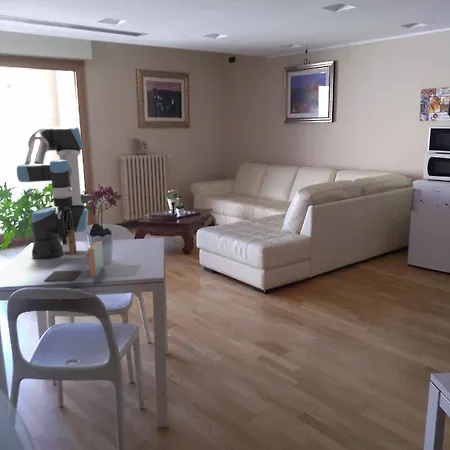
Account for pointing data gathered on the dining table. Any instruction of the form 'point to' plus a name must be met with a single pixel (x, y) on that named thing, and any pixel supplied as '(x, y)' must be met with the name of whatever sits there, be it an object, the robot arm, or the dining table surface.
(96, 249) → the tile
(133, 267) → the mat
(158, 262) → the dining table surface
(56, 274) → the pad
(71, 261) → the dining table surface
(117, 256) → the dining table surface
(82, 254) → the float tool
